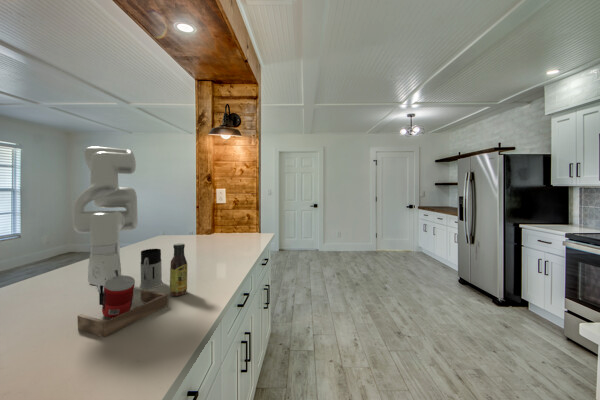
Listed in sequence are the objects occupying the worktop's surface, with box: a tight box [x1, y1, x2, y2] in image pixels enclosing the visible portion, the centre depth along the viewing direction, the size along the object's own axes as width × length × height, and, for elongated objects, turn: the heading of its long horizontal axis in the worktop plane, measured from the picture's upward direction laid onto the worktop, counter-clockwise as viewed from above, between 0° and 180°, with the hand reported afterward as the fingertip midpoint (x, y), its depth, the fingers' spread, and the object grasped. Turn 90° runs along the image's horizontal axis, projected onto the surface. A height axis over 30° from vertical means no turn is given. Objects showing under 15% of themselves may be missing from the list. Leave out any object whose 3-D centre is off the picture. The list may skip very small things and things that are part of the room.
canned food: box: [101, 275, 136, 319], centre depth 82 cm, size 8×8×11 cm
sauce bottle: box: [169, 242, 188, 297], centre depth 100 cm, size 6×6×20 cm
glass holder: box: [139, 248, 164, 289], centre depth 107 cm, size 9×14×15 cm, turn 18°
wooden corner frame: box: [77, 289, 169, 338], centre depth 82 cm, size 12×21×4 cm, turn 160°
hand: (106, 303), depth 85 cm, fingers closed
